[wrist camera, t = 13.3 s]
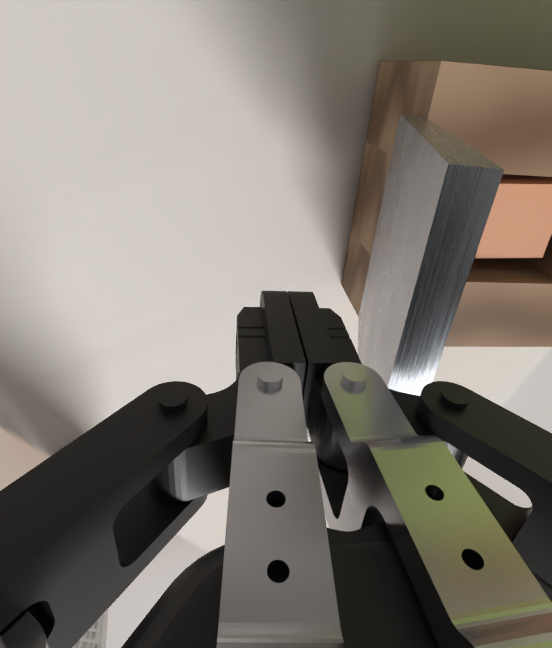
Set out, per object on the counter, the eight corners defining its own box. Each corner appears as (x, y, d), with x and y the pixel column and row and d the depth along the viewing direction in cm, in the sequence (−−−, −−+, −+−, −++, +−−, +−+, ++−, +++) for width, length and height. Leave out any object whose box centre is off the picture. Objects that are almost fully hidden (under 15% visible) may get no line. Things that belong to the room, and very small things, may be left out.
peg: (496, 157, 27) (570, 184, 22) (478, 218, 30) (542, 257, 24) (437, 157, 27) (497, 183, 21) (423, 218, 29) (474, 258, 23)
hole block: (379, 61, 24) (441, 60, 17) (601, 81, 26) (736, 88, 19) (341, 284, 31) (374, 346, 24) (516, 288, 33) (592, 346, 26)
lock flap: (376, 318, 23) (358, 315, 23) (423, 115, 18) (399, 113, 18) (388, 510, 13) (356, 503, 13) (504, 170, 8) (448, 163, 8)
